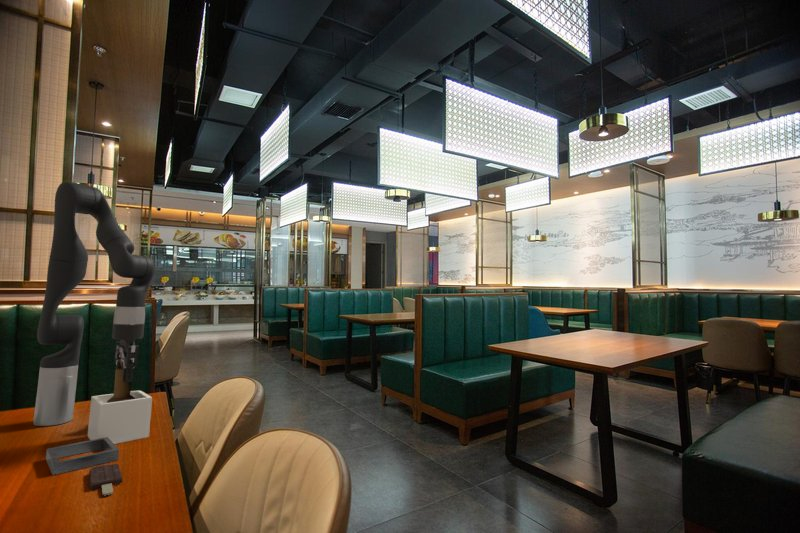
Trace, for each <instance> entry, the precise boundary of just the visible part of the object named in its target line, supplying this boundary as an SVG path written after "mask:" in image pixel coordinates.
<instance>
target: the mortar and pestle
mask: <svg viewBox="0 0 800 533" xmlns="http://www.w3.org/2000/svg"><path fill="white" fill-rule="evenodd" d="M121 346H123V345H121ZM120 365H121V368H117V367H115V372H114V374H115V376H114V384H113V385H114V387H113V394H114V395H113V397H111V398H110V399H109V400H108V401H107V403H111V402H118V401H125V400H132V399H135V397H133V396H132V395H130V392H131V386H132V381H131V382H123V381H122V379H123V369H124V368H123V362H122V361H121V360H120Z"/></svg>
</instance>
